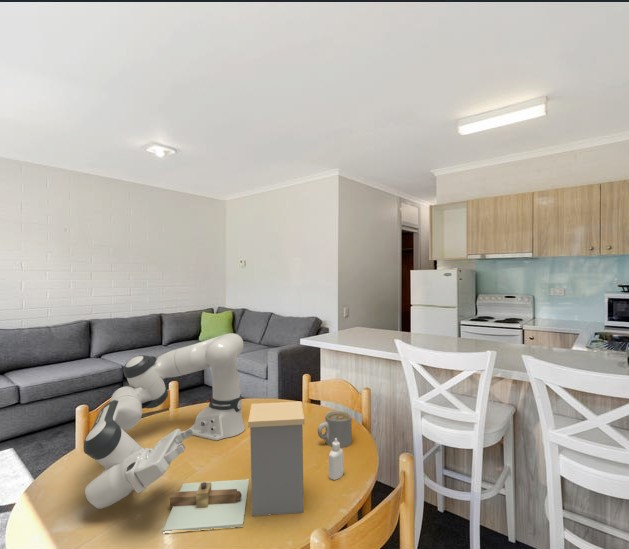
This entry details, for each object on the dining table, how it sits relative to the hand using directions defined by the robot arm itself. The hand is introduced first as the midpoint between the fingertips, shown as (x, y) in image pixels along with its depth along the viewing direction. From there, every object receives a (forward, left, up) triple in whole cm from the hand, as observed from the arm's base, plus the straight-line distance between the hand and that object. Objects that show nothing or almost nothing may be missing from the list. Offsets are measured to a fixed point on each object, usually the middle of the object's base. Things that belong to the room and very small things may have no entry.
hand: (188, 438), depth 102 cm
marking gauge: (+4, +2, -18) cm, 19 cm away
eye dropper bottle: (+37, +24, -20) cm, 49 cm away
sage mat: (+5, +2, -19) cm, 20 cm away
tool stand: (+23, +8, -19) cm, 31 cm away
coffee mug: (+32, +46, -20) cm, 60 cm away
